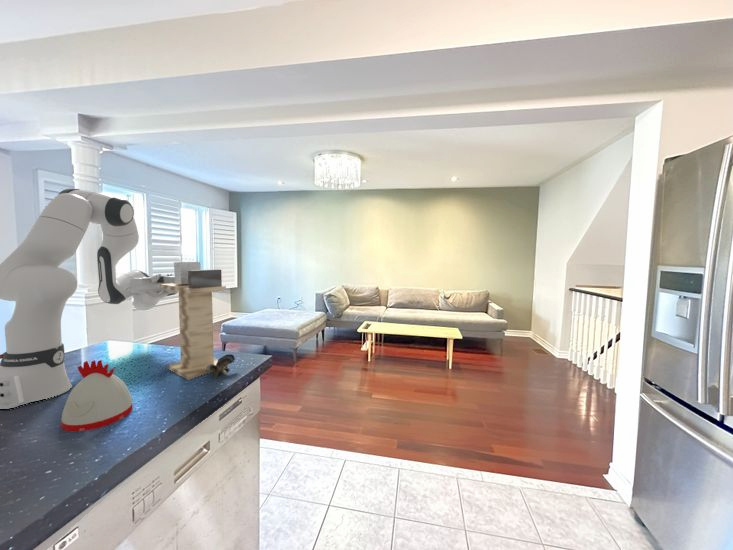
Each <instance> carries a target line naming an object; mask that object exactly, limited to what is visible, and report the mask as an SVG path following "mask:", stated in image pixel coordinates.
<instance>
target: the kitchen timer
mask: <svg viewBox="0 0 733 550" xmlns="http://www.w3.org/2000/svg"><path fill="white" fill-rule="evenodd" d="M108 368H109V364H108V363H106V364H105V365H104V366H103V362H102V360H101V359H99V360H97V362H96V360H93V361H91V363H90V365H89V362H88V360H85V361H84V362H83V366H82V365H79V366H77V369H78V372H79V374H80V376H82V379H81V380H80V381H78V383H77V384H76V385H74V387H73V388H72V390H71V391H70V393H69V395H68V396H67V399H66V401H65V405H64V407H63V411H62V414H61V420H60V421H61V423H60V424H61V429H63V431H65V432H66V431H67V432H72V433H73V432H78V431H79V432H86V431H90V430H91V431H92V430H96V429H99V428H103V427H105V426H109V425H110V424H114V423H116V422H118V421H120V420H122V419H124V418H125V417H127V416H128V415H129V414H131V412H133V411H132V410H133V409H134V408H133V398H132V394H131V392H130V390H129V388H128V386H127V385H126V382H125V381H123V380H122V379H121V378H119V377H118V376H117V375H115V374H114V372H115V367H114V368H112V369H110V371H108V370H109V369H108Z"/></svg>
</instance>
